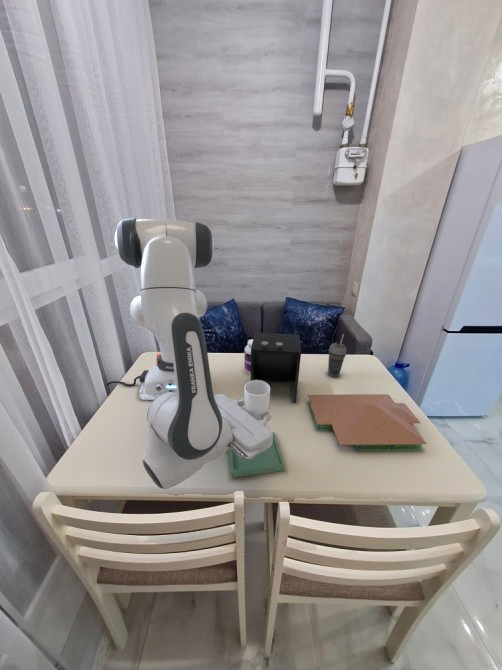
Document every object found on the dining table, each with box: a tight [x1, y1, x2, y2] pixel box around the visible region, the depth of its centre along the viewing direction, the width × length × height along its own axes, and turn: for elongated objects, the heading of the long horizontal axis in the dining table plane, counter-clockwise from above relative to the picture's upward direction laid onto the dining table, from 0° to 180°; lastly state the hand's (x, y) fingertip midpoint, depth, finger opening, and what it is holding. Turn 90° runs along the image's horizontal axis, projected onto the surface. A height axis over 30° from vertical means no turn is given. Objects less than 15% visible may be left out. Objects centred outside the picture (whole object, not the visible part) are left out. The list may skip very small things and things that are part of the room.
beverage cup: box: [327, 333, 347, 379], centre depth 110 cm, size 7×7×20 cm
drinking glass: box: [243, 380, 271, 421], centre depth 70 cm, size 7×7×15 cm
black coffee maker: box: [250, 331, 302, 404], centre depth 99 cm, size 14×17×23 cm
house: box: [307, 393, 428, 451], centre depth 86 cm, size 23×33×8 cm
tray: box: [228, 431, 285, 478], centre depth 76 cm, size 14×12×2 cm
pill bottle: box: [243, 338, 254, 375], centre depth 113 cm, size 8×8×14 cm
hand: (258, 407), depth 70 cm, fingers closed on drinking glass, 6 cm apart
